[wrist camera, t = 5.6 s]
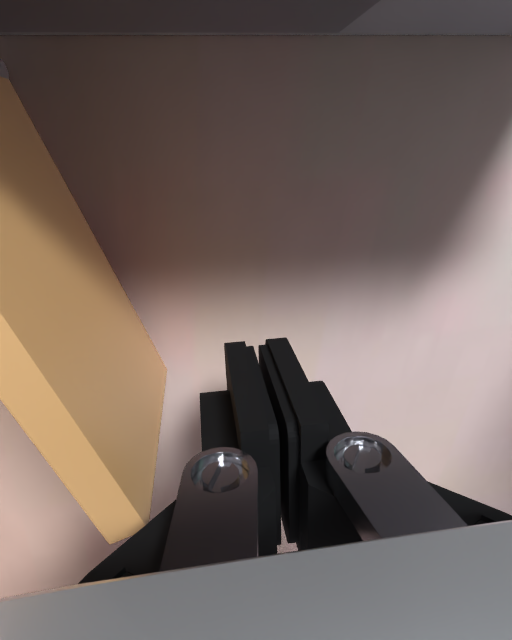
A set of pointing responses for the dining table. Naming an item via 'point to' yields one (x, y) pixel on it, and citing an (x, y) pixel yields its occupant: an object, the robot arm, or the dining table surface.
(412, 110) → the dining table surface
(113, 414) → the tan cabinet door
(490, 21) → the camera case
